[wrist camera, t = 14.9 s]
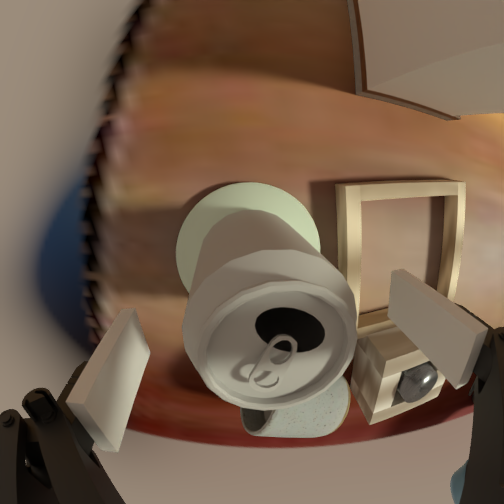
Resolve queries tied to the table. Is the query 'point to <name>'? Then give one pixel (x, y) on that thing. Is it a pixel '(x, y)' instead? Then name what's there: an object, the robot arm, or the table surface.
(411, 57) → the tall seamed white tower
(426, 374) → the glossy grey oval piece
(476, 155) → the table surface
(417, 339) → the robot arm
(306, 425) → the ceramic mug
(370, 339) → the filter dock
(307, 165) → the table surface
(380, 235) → the table surface
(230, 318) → the can
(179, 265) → the pad
